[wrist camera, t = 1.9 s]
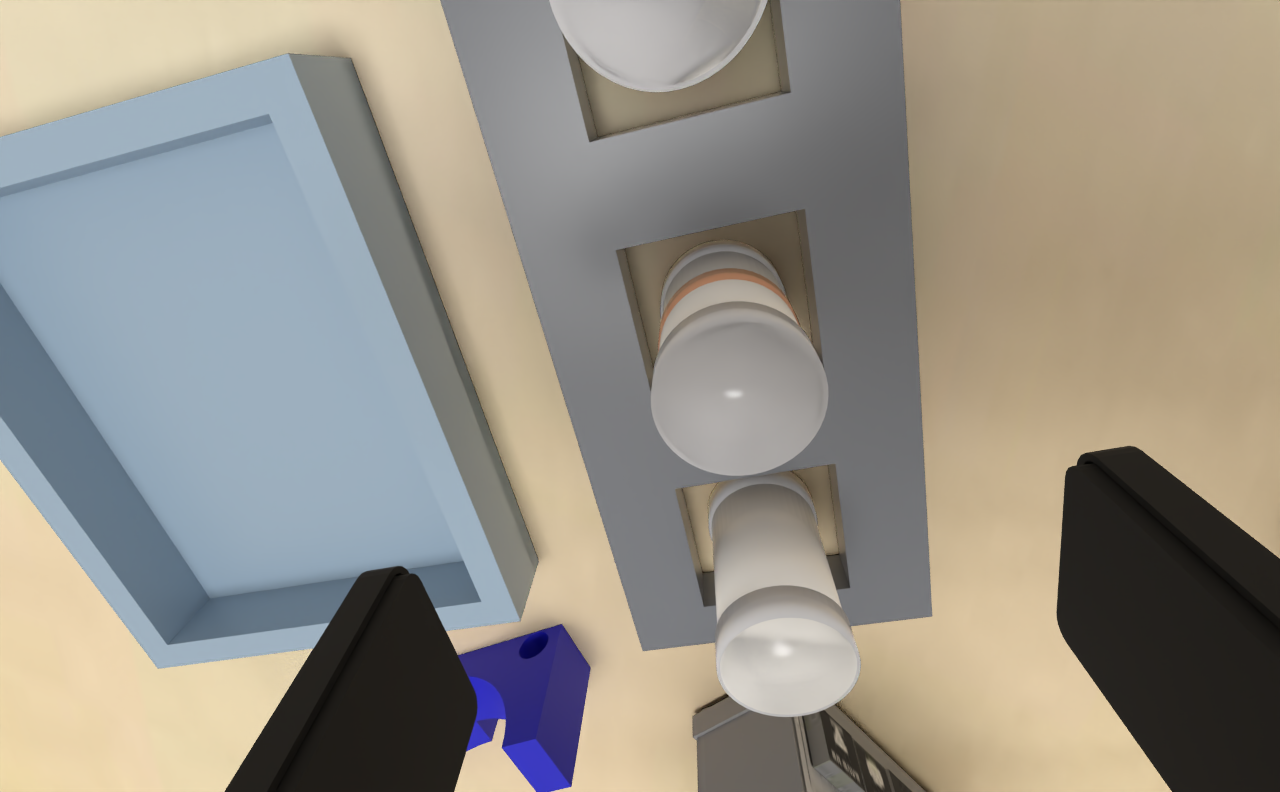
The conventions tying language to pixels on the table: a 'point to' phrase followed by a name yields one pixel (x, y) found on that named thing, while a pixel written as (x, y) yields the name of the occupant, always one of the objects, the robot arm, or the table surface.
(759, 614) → the cylinder
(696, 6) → the cylinder
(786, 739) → the cassette tape recorder
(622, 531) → the fuse holder
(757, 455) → the marked fuse
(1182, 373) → the table surface
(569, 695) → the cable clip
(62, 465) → the tray
